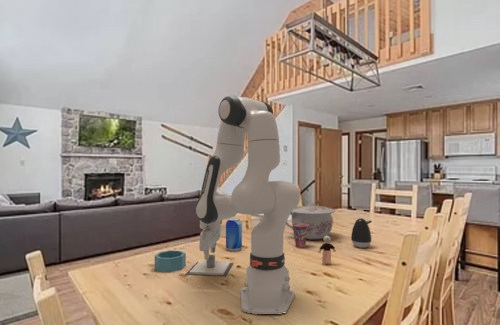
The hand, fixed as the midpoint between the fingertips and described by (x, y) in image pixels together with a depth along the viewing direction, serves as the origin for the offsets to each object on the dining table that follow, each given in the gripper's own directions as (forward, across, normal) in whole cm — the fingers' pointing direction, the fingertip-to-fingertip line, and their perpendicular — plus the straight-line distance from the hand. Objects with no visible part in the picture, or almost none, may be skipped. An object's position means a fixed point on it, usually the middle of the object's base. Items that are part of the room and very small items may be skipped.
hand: (210, 255), depth 135 cm
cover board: (+5, -1, 0) cm, 5 cm away
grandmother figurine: (+6, +13, -50) cm, 52 cm away
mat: (+6, -1, 0) cm, 6 cm away
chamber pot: (+7, +63, -46) cm, 78 cm away
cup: (+6, +41, -39) cm, 57 cm away
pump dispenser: (+6, +44, -71) cm, 84 cm away
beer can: (+7, +31, -4) cm, 32 cm away
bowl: (+6, -1, +18) cm, 19 cm away
